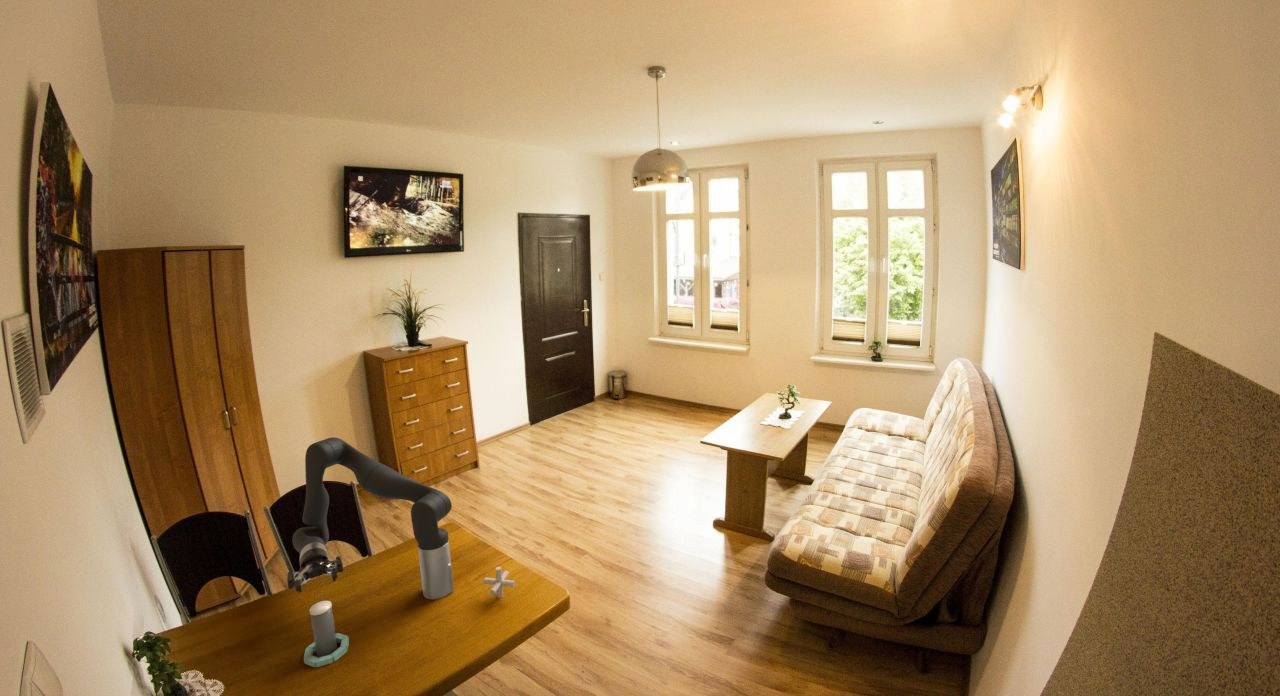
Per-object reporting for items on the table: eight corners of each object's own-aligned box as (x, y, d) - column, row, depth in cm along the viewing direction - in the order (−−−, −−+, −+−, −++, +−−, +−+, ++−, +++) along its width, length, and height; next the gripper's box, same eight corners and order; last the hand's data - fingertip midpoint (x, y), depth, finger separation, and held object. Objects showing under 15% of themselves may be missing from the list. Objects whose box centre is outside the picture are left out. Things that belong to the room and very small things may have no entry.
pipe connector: (508, 608, 162) (506, 579, 160) (478, 604, 164) (476, 576, 162) (521, 588, 171) (519, 560, 170) (493, 585, 173) (491, 557, 172)
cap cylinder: (338, 642, 149) (332, 598, 146) (336, 655, 144) (330, 609, 142) (317, 648, 147) (310, 604, 144) (314, 661, 142) (308, 615, 140)
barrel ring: (349, 634, 152) (349, 629, 152) (346, 658, 143) (346, 653, 143) (308, 645, 148) (307, 640, 148) (302, 671, 139) (301, 666, 138)
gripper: (285, 556, 161) (286, 581, 148) (337, 540, 169) (343, 563, 156) (289, 578, 162) (290, 605, 149) (341, 561, 170) (346, 585, 157)
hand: (317, 583), depth 152 cm, fingers open, 8 cm apart
